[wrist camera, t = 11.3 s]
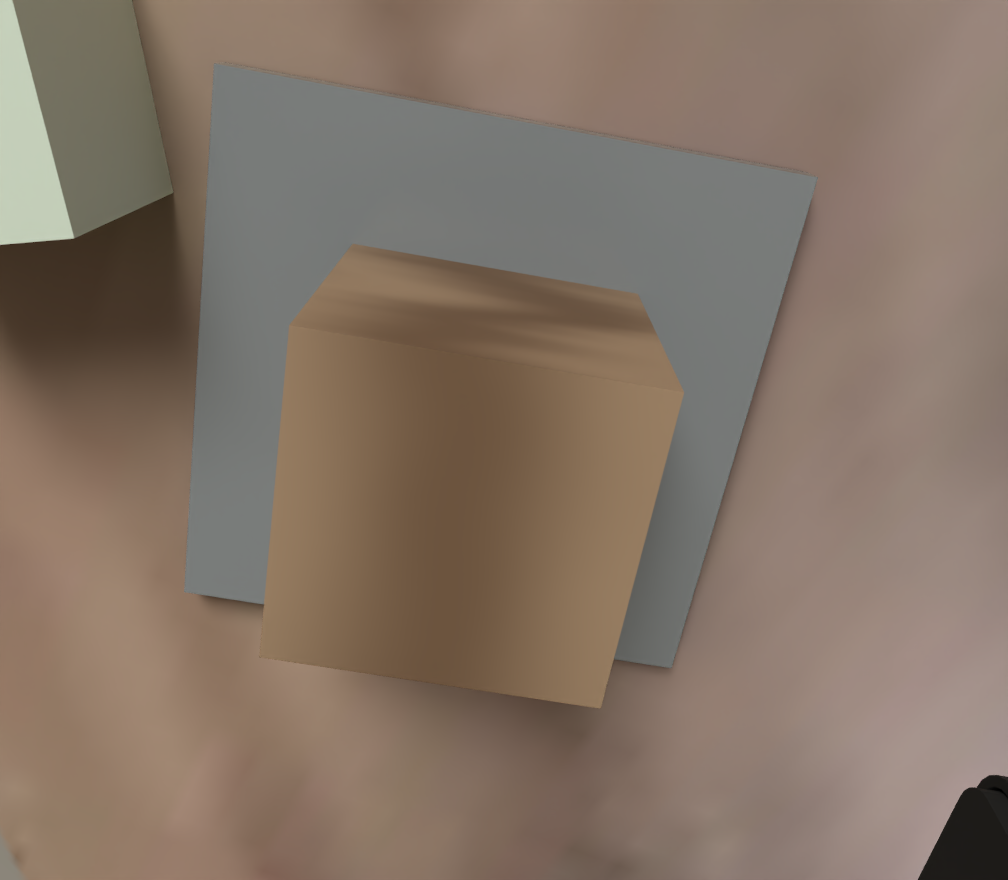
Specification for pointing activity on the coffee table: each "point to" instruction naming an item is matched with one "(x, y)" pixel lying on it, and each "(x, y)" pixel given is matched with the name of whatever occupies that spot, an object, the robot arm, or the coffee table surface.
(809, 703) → the coffee table surface
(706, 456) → the slate coaster
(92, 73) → the pale green block
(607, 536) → the walnut cube
